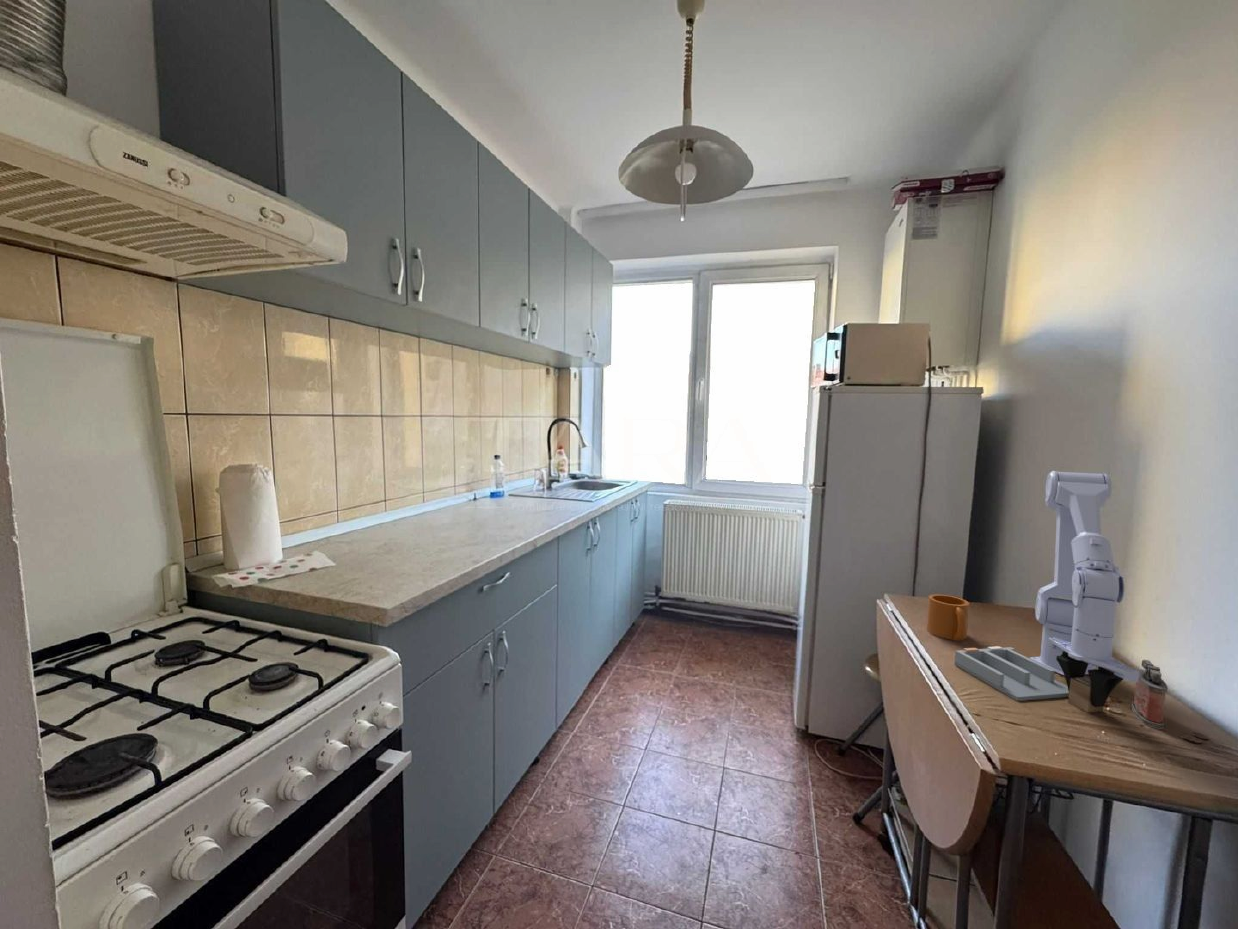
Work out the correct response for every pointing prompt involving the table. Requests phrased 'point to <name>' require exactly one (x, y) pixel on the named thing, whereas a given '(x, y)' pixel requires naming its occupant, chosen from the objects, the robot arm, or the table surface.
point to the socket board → (1011, 673)
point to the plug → (1082, 694)
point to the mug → (947, 617)
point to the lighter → (1149, 696)
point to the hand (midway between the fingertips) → (1085, 699)
